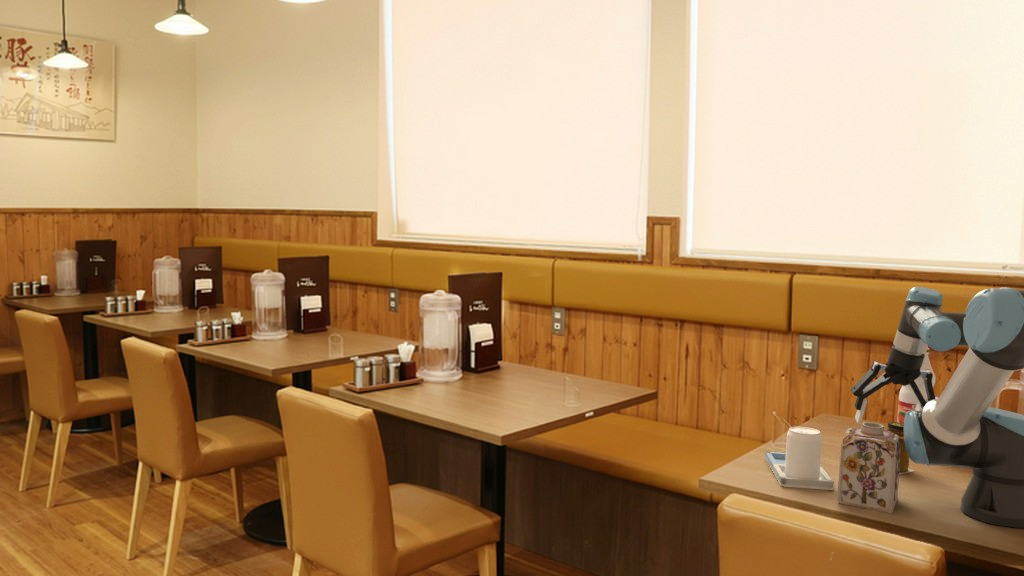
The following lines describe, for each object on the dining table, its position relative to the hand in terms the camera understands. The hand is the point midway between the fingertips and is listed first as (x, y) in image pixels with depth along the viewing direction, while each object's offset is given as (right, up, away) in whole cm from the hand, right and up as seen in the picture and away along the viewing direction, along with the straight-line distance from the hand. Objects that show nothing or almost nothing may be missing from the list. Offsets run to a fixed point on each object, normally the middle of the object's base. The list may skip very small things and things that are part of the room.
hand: (884, 425), depth 209 cm
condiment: (+5, -13, +6) cm, 15 cm away
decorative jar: (-13, -14, -20) cm, 28 cm away
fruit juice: (+24, -11, +34) cm, 43 cm away
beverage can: (-23, -12, -6) cm, 27 cm away
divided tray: (-22, -12, -1) cm, 25 cm away
